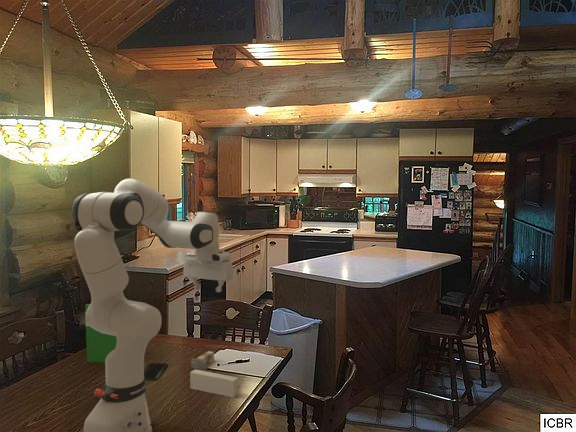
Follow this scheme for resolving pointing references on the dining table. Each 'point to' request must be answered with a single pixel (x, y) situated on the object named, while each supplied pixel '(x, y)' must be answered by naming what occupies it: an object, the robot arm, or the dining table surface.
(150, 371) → the phone
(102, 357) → the hardback book
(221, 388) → the white rectangular block
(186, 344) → the dining table surface
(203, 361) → the pusher
